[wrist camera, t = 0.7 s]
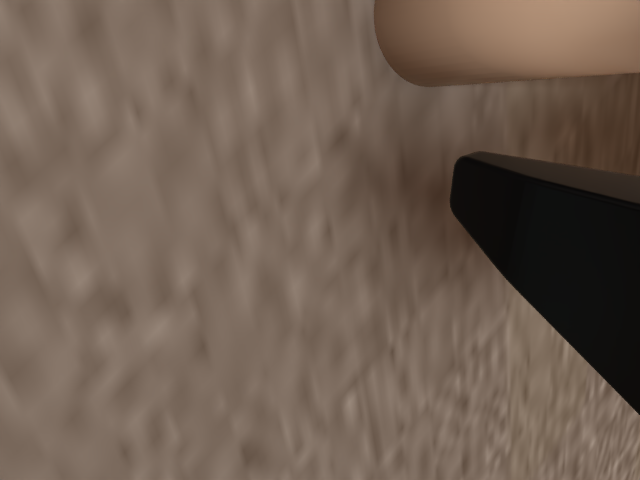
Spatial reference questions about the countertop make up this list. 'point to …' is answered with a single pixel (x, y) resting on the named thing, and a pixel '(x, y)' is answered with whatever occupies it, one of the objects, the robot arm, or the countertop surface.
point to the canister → (507, 39)
